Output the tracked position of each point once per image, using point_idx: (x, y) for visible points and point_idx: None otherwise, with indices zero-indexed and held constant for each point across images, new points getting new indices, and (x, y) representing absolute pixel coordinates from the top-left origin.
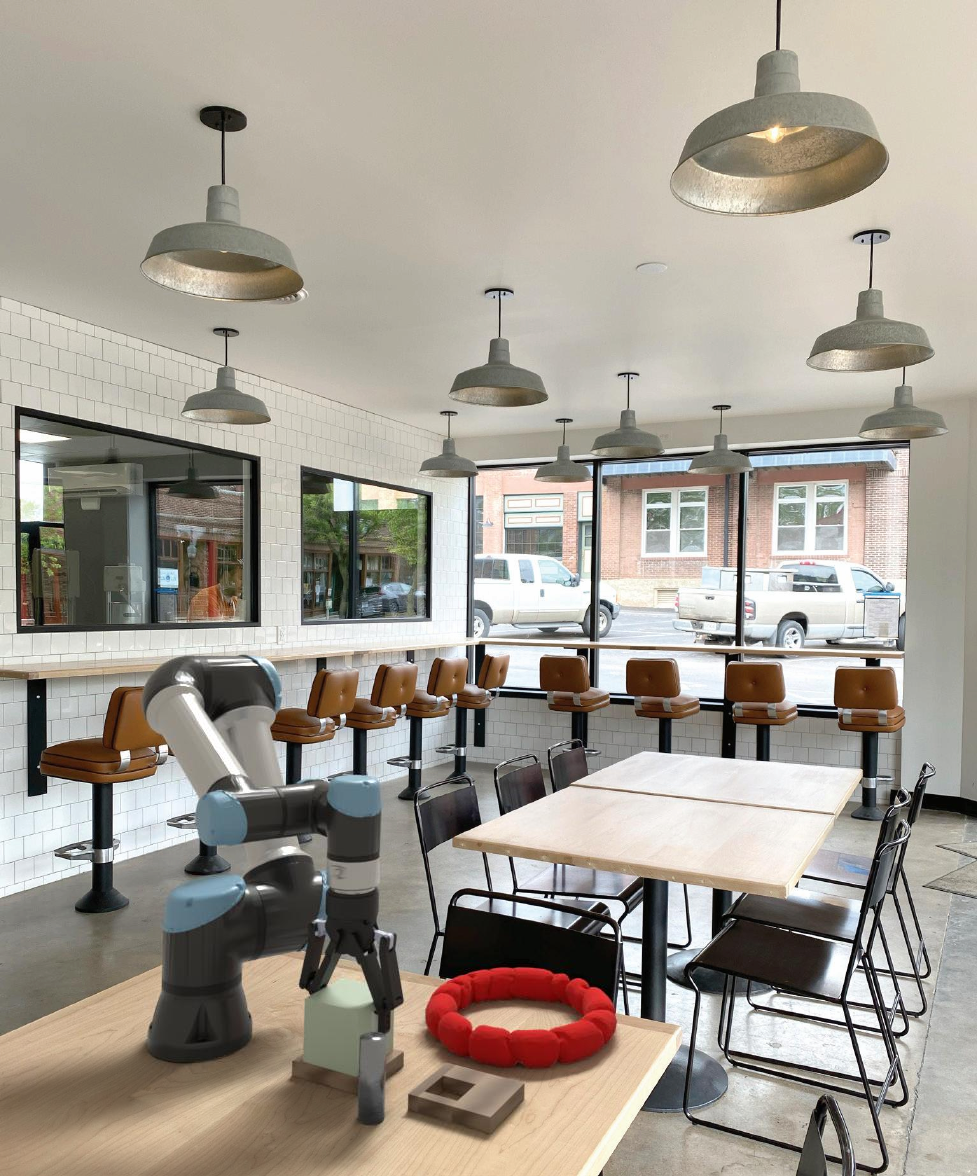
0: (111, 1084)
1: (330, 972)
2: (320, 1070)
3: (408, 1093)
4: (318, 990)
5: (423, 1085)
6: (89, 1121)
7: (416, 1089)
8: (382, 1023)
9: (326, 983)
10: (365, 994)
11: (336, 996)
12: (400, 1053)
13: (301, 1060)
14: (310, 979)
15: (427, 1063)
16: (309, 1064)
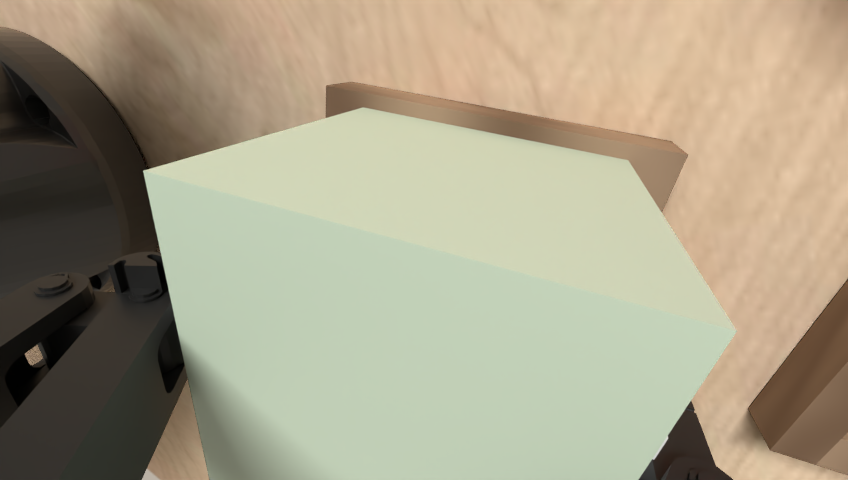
0: None
1: (110, 453)
2: None
3: (771, 449)
4: (176, 359)
5: (835, 404)
6: (184, 445)
7: (803, 428)
8: None
9: (157, 345)
10: (477, 446)
11: (321, 469)
12: (673, 178)
13: None
14: (62, 346)
15: (796, 79)
16: None
